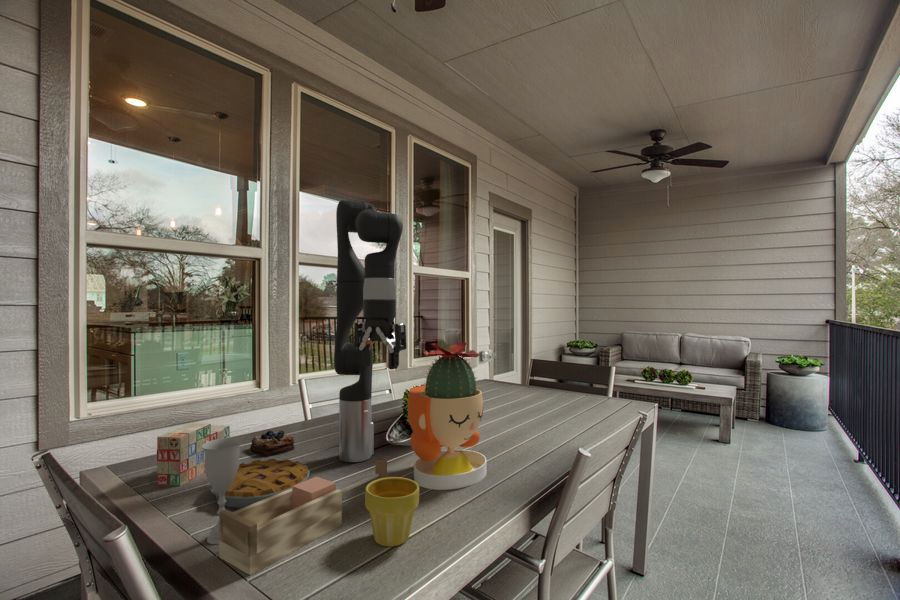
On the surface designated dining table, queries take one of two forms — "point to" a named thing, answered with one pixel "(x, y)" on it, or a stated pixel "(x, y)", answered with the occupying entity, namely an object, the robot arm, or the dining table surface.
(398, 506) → the plant pot
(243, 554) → the light wooden box
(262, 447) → the pastry
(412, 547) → the dining table surface
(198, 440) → the stack of blocks
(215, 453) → the chalice
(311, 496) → the pull block
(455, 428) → the potted cactus
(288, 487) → the pie
